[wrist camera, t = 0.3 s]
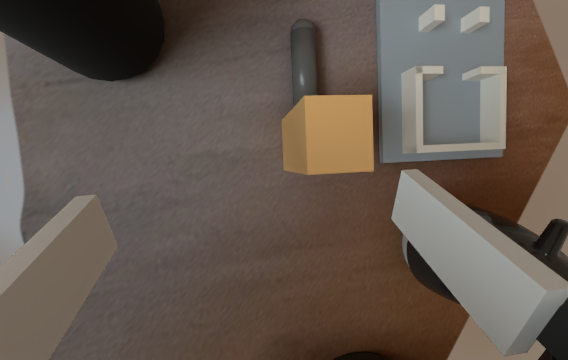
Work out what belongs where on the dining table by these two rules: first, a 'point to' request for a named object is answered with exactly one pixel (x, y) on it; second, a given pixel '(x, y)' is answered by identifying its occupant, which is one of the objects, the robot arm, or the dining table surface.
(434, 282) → the dark grey egg shape
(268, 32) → the dining table surface
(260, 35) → the dining table surface
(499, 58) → the board
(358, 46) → the dining table surface
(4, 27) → the coffee jar
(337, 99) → the plug
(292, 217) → the dining table surface
